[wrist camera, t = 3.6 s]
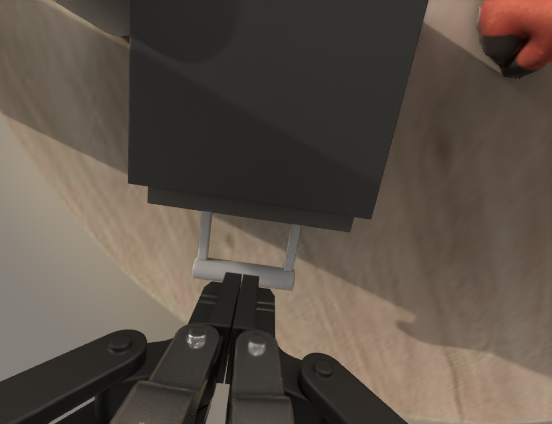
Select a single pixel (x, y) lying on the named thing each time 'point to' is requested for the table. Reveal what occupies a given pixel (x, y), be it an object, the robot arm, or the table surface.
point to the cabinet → (269, 97)
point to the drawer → (209, 204)
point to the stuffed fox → (516, 34)
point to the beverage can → (102, 14)
